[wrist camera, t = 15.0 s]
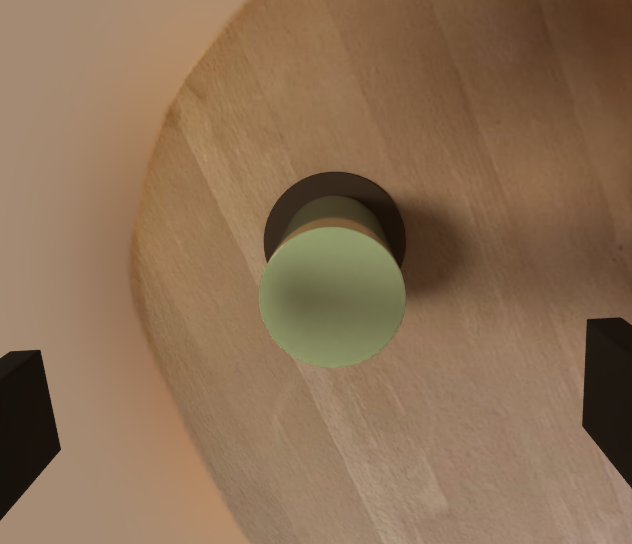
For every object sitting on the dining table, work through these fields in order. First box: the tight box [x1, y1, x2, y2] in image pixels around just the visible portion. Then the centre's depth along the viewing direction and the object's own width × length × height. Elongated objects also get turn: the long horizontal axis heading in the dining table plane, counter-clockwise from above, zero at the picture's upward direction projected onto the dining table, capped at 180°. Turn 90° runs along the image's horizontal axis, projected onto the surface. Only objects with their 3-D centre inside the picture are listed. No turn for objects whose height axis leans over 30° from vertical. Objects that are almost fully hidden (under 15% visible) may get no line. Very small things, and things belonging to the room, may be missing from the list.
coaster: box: [264, 172, 406, 269], centre depth 37 cm, size 9×9×1 cm
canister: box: [259, 196, 406, 368], centre depth 31 cm, size 6×6×12 cm
